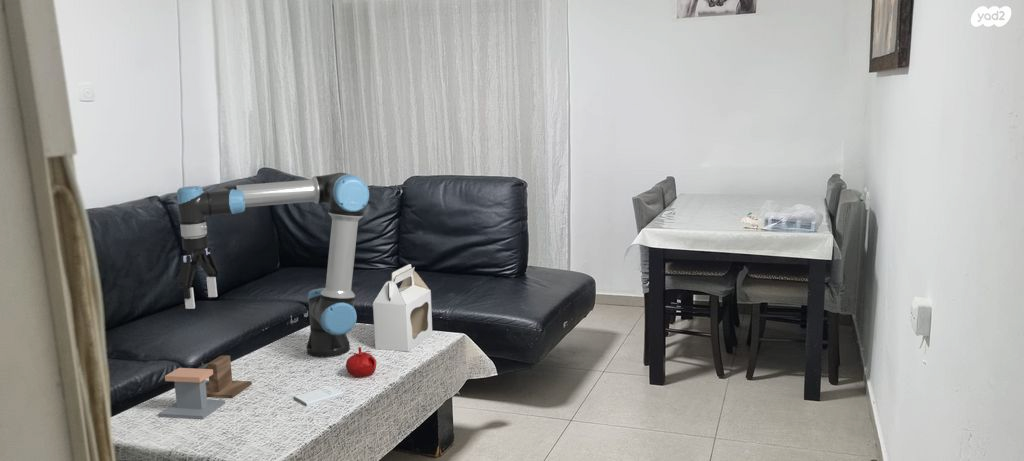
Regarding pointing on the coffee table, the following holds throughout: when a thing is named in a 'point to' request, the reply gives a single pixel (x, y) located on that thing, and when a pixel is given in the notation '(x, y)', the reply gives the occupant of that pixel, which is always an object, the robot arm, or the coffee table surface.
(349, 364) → the pomegranate
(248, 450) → the coffee table surface
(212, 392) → the walnut stand
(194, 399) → the slate stand
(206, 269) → the robot arm
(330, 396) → the external hard drive
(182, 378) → the terracotta tile
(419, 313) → the gable box
